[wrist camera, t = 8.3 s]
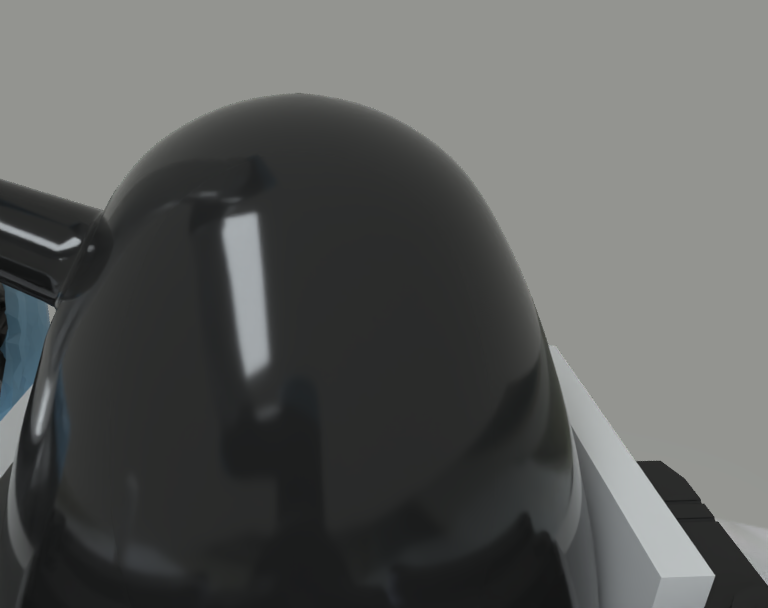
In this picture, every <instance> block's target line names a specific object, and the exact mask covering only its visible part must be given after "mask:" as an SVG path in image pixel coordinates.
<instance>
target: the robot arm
mask: <svg viewBox="0 0 768 608" xmlns="http://www.w3.org/2000/svg"><path fill="white" fill-rule="evenodd" d="M49 326H50V321H49V313H48V306H47V303H45V302H43V301H41V300H39V299H36V298H34V297H32V296H30V295H27V294H25V293H23V292H21V291H18V290H16V289H14V288H11V287H9V286H7V285H5V284H2V283H0V539H1V531H2V524H3V517H4V511H5V505H6V499H7V493H8V487H9V482H10V477H11V471H12V466H13V461H14V456H15V452H16V447H17V443H18V438H19V434H20V430H21V426H22V422H23V418H24V414H25V410H26V407H27V403H28V400H29V396H30V393H31V389H32V386H33V382H34V379H35V375H36V371H37V368H38V364H39V360H40V356H41V352H42V348H43V344H44V341H45V337H46V334H47V332H48V329H49ZM549 349H550V352H551V355H552V359H553V362H554V365H555V369H556V372H557V375H558V379H559V382H560V386H561V389H562V393H563V397H564V400H565V404H566V408H567V412H568V416H569V420H570V424H571V428H572V432H573V436H574V440H575V445H576V449H577V454H578V458H579V463H580V467H581V472H582V477H583V482H584V487H585V493H586V498H587V504H588V510H589V516H590V523H591V529H592V536H593V544H594V551H595V560H596V570H597V581H598V592H599V607H600V608H768V585H767V584H766V583H765V582H764V580H763V579H762V578H761V576H760V575H759V574H758V572H757V571H756V570H755V569H754V567H753V566H752V565H751V563H750V562H749V561H748V560H747V558H746V557H745V556H744V554H743V553H742V552H741V551H740V549H739V548H738V547H737V545H736V544H735V543H734V542H733V540H732V539H731V538H730V536H729V535H728V534H727V533H726V531H725V530H724V529H723V527H722V526H721V525H720V524H719V522H715V519H714V516H713V515H712V513H711V512H710V511H709V509H708V508H707V507H706V505H705V504H702V503H701V499H700V498H699V496H698V495H697V494H696V493H695V491H694V490H693V489H692V487H691V486H690V485H689V484H688V482H687V481H686V480H685V479H684V478H683V477H682V476H680V475H679V474H678V473H676V472H675V471H674V470H672V469H671V468H669V467H668V466H667V465H665V464H664V463H663V462H661V461H635V459H634V458H633V457H632V455H631V453H630V452H629V451H628V449H627V448H626V446H625V445H624V443H623V442H622V440H621V439H620V438H619V436H618V435H617V433H616V432H615V430H614V429H613V428H612V426H611V425H610V423H609V422H608V420H607V419H606V417H605V416H604V415H603V413H602V412H601V411H600V409H599V407H598V406H597V405H596V403H595V402H594V400H593V399H592V397H591V396H590V394H589V393H588V392H587V390H586V389H585V387H584V386H583V384H582V383H581V381H580V380H579V379H578V377H577V376H576V374H575V373H574V371H573V370H572V368H571V367H570V366H569V364H568V363H567V361H566V360H565V358H564V357H563V355H562V354H561V353H560V351H559V350H558V348H557V347H556V346H549Z"/></svg>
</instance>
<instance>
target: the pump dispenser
mask: <svg viewBox="0 0 768 608" xmlns="http://www.w3.org/2000/svg"><path fill="white" fill-rule="evenodd" d="M0 283H2V284H5V285H7V286H9V287H11V288H14V289H16V290H18V291H21V292H23V293H25V294H27V295H30V296H32V297H34V298H36V299H39V300H41V301H43V302H45V303H47V304H49V305H51V306H53V307H55V309H56V313H55V315H54V317H53V320H52V322H51V324H50V326H49V329H48V332H47V334H46V337H45V341H44V344H43V348H42V352H41V356H40V360H39V364H38V368H37V371H36V375H35V379H34V382H33V386H32V389H31V393H30V396H29V400H28V403H27V407H26V410H25V414H24V418H23V422H22V426H21V430H20V434H19V438H18V443H17V447H16V452H15V456H14V461H13V466H12V471H11V477H10V482H9V487H8V493H7V499H6V505H5V511H4V517H3V524H2V531H1V539H0V608H600V607H599V592H598V581H597V570H596V560H595V551H594V544H593V536H592V529H591V523H590V516H589V510H588V504H587V498H586V493H585V487H584V482H583V477H582V472H581V467H580V463H579V458H578V454H577V449H576V445H575V440H574V436H573V432H572V428H571V424H570V420H569V416H568V412H567V408H566V404H565V400H564V397H563V393H562V389H561V386H560V382H559V379H558V375H557V372H556V369H555V365H554V362H553V359H552V355H551V352H550V349H549V346H548V343H547V339H546V337H545V333H544V330H543V327H542V324H541V322H540V318H539V316H538V313H537V310H536V307H535V304H534V302H533V299H532V297H531V294H530V291H529V289H528V286H527V284H526V281H525V279H524V277H523V274H522V272H521V270H520V267H519V265H518V263H517V261H516V259H515V256H514V254H513V252H512V250H511V248H510V246H509V244H508V242H507V240H506V238H505V236H504V234H503V232H502V230H501V228H500V226H499V224H498V222H497V220H496V218H495V217H494V215H493V213H492V211H491V209H490V208H489V206H488V204H487V203H486V201H485V199H484V198H483V196H482V195H481V193H480V192H479V190H478V189H477V187H476V186H475V184H474V183H473V182H472V180H471V179H470V178H469V176H468V175H467V174H466V173H465V172H464V170H463V169H462V168H461V167H460V166H459V165H458V164H457V163H456V162H455V161H454V160H453V159H452V158H451V157H450V156H449V155H448V154H447V153H446V152H445V151H443V150H442V149H441V148H440V147H439V146H438V145H436V144H435V143H434V142H432V141H431V140H430V139H428V138H427V137H425V136H424V135H423V134H421V133H419V132H418V131H416V130H415V129H413V128H412V127H410V126H408V125H407V124H405V123H403V122H401V121H399V120H397V119H395V118H393V117H392V116H389V115H387V114H385V113H383V112H380V111H378V110H376V109H373V108H370V107H367V106H364V105H361V104H358V103H355V102H351V101H347V100H343V99H339V98H332V97H327V96H321V95H313V94H303V93H295V94H280V95H272V96H265V97H259V98H254V99H250V100H244V101H241V102H237V103H234V104H230V105H228V106H224V107H221V108H219V109H216V110H214V111H212V112H209V113H207V114H204V115H202V116H200V117H198V118H196V119H194V120H192V121H190V122H189V123H187V124H185V125H183V126H182V127H181V128H179V129H177V130H175V131H174V132H172V133H170V134H169V135H168V136H166V137H165V138H164V139H162V140H161V141H159V142H158V143H157V144H156V145H154V146H153V147H152V148H151V149H150V150H149V151H148V152H147V153H146V154H145V155H144V156H143V157H142V158H141V159H140V160H139V161H138V162H137V163H136V164H135V165H134V166H133V168H132V169H131V170H130V172H129V173H128V174H127V175H126V177H125V178H124V180H123V181H122V182H121V184H120V185H119V186H118V187H117V189H116V190H115V192H114V193H113V195H112V197H111V198H110V200H109V202H108V204H107V206H106V208H105V209H104V210H101V209H98V208H94V207H90V206H87V205H84V204H81V203H77V202H74V201H71V200H68V199H64V198H61V197H58V196H54V195H51V194H48V193H44V192H41V191H38V190H35V189H31V188H29V187H25V186H22V185H19V184H16V183H12V182H9V181H5V180H3V179H0Z"/></svg>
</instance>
